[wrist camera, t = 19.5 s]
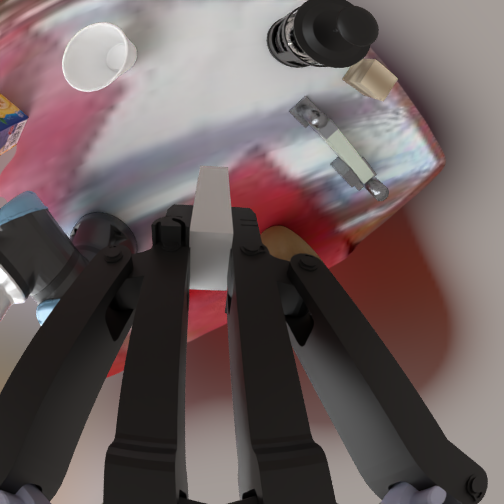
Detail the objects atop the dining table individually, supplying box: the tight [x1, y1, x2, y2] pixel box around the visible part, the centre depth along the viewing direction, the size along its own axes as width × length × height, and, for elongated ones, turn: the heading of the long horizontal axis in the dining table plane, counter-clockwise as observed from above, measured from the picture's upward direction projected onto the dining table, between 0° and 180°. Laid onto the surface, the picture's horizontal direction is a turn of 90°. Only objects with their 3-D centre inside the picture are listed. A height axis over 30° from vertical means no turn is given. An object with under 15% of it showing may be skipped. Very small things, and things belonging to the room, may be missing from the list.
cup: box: [62, 22, 137, 92], centre depth 29 cm, size 10×10×11 cm
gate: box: [308, 117, 374, 184], centre depth 44 cm, size 13×3×6 cm, turn 46°
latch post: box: [289, 96, 328, 128], centre depth 39 cm, size 4×4×8 cm
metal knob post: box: [331, 157, 389, 201], centre depth 46 cm, size 8×6×9 cm
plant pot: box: [260, 226, 323, 262], centre depth 52 cm, size 15×15×16 cm
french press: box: [267, 0, 379, 68], centre depth 26 cm, size 12×9×23 cm
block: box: [342, 59, 397, 101], centre depth 36 cm, size 5×5×7 cm
